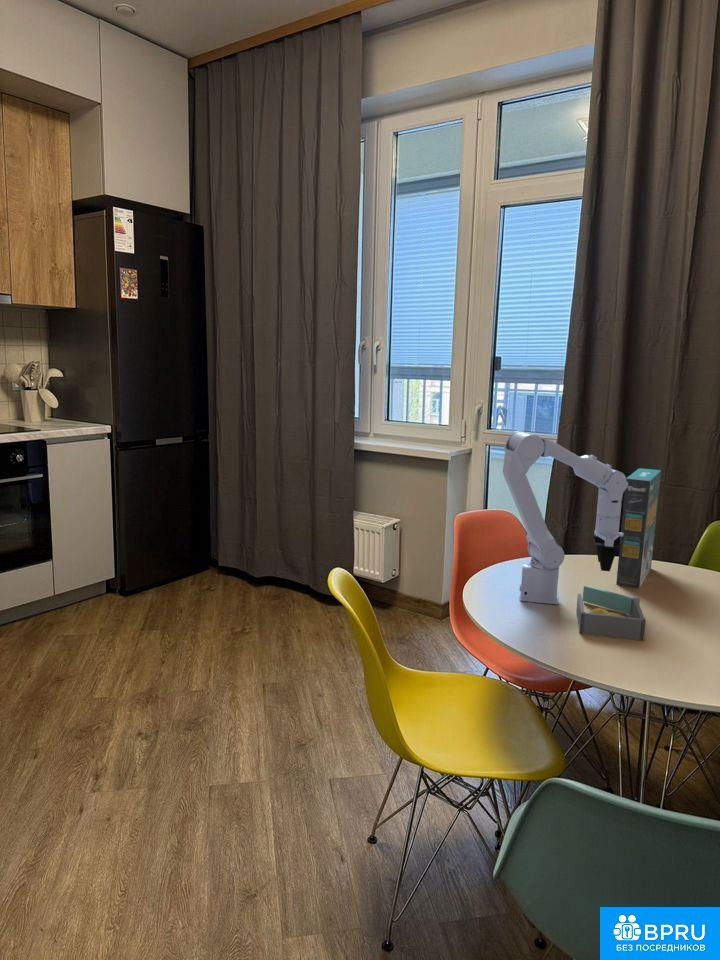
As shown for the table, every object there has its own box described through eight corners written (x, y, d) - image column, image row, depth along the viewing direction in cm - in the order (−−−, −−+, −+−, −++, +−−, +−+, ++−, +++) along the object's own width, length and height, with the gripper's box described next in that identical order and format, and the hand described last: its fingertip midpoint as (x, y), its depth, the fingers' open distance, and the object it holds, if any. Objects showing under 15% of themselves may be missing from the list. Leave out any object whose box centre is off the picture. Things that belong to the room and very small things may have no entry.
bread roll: (619, 637, 152) (621, 620, 152) (580, 626, 158) (582, 610, 157) (631, 627, 159) (633, 610, 158) (594, 617, 164) (595, 601, 164)
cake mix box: (629, 565, 207) (639, 468, 202) (651, 568, 204) (661, 470, 198) (616, 584, 188) (626, 478, 183) (639, 588, 185) (650, 480, 180)
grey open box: (579, 633, 154) (581, 613, 153) (575, 608, 169) (577, 590, 168) (649, 641, 150) (651, 620, 149) (639, 615, 165) (641, 597, 164)
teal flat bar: (639, 615, 164) (641, 597, 163) (636, 616, 163) (638, 599, 162) (584, 599, 174) (586, 583, 173) (581, 601, 173) (583, 584, 172)
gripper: (628, 523, 166) (623, 576, 168) (621, 510, 180) (617, 559, 182) (598, 520, 168) (593, 573, 170) (593, 508, 182) (589, 557, 184)
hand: (603, 566), depth 176 cm, fingers open, 7 cm apart
